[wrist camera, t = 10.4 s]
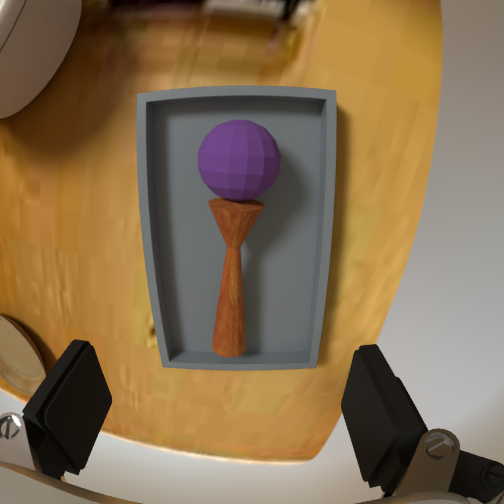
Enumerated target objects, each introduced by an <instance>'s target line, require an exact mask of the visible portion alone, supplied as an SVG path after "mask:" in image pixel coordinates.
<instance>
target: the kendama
mask: <svg viewBox="0 0 504 504" xmlns="http://www.w3.org/2000/svg"><path fill="white" fill-rule="evenodd" d="M280 161H281V155H280V151H279V148H278V145H277V142H276V140H275V139H274V138H273V136H272V135H271V134H270V133H269V132H268V131H267V129H266V128H265V127H263V126H261V125H258V124H256V123H254V122H252V121H250V120H237V119H234V120H231V121H228V122H225V123H222V124H219V125H217V126H216V127H215V128H214V129H213V130H212V131H210V132H209V133H208V134H207V135H206V136H205V138H204V140H203V142H202V144H201V146H200V148H199V150H198V166H197V167H198V170H199V173H200V175H201V178H202V180H203V182H204V183H205V184H206V186H207V187H208V188H209V189H210V190H211V191H212V192H213V193H214V194H216V195H217V196H220V197H219V198H214V199H211V200H209V202H208V204H209V207H210V209H211V211H212V213H213V216H214V218H215V220H216V223H217V225H218V227H219V230H220V232H221V234H222V236H223V239H224V241H225V243H226V246H227V248H226V255H225V261H224V267H223V273H222V280H221V286H220V293H219V299H218V306H217V312H216V319H215V326H214V333H213V340H212V349H213V351H214V352H215V353H216V354H218V355H220V356H223V357H229V358H232V357H237V356H239V355H241V354H243V353H244V351H245V350H246V336H245V319H244V302H243V284H242V265H241V245H242V244H243V242H244V240H245V239H246V237H247V235H248V233H249V232H250V230H251V228H252V227H253V225H254V223H255V221H256V220H257V218H258V216H259V215H260V213H261V211H262V210H263V208H264V204H263V203H262V202H260V201H257V200H254V199H253V198H257V197H259V196H260V195H261V194H263V193H264V192H265V191H266V190H268V189H269V188H270V187H272V185H273V183H274V181H275V179H276V178H277V176H278V174H279V171H280Z"/></svg>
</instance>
